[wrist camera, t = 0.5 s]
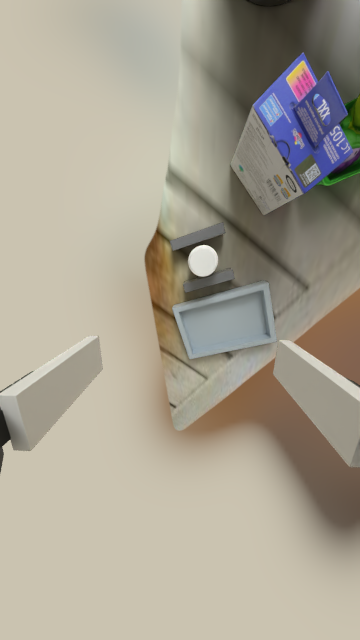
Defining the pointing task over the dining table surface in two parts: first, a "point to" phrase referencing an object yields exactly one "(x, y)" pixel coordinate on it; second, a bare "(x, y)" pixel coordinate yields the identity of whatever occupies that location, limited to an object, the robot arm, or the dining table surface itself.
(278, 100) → the ink cartridge box
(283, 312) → the dining table surface
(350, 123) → the fruit basket
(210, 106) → the dining table surface
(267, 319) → the parts tray
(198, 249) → the pill bottle
